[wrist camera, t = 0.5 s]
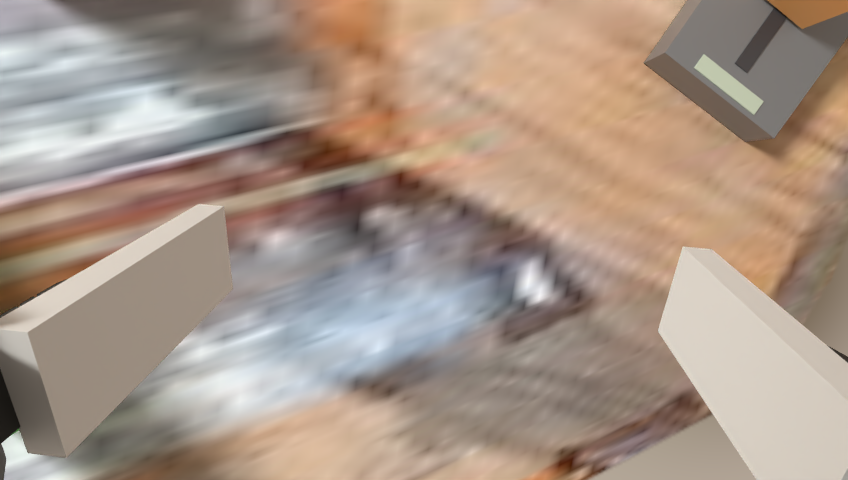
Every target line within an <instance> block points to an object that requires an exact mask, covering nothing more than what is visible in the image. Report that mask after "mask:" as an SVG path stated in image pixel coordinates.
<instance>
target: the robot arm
mask: <svg viewBox="0 0 848 480" xmlns="http://www.w3.org/2000/svg"><path fill="white" fill-rule="evenodd" d="M232 289H233V285H232V276H231V267H230V258H229V248H228V239H227V230H226V221H225V212H224V206H215V205H204V204H198V205H196V206H194V207H193V208H191V209H189V210H188V211H186V212H184V213H182V214H181V215H179V216H177V217H175V218H174V219H172V220H170V221H168V222H167V223H165V224H163V225H161V226H160V227H158V228H156V229H154V230H153V231H151V232H149V233H147V234H146V235H144V236H142V237H141V238H139V239H137V240H135V241H134V242H132V243H130V244H128V245H127V246H125V247H123V248H121V249H120V250H118V251H116V252H114V253H113V254H111V255H109V256H107V257H106V258H104V259H102V260H100V261H99V262H97V263H95V264H94V265H92V266H90V267H88V268H87V269H85V270H83V271H81V272H80V273H78V274H76V275H74V276H73V277H71V278H69V279H66V280H64V281H61V282H58V283H56V284H54V285H53V286H51V287H49V288H47V289H46V290H44V291H42V292H40V293H39V294H37V297H32V298H30V299H28V300H26V301H24V302H23V303H21V304H20V306H19V307H14V308H12V309H10V310H9V311H7V312H5V313H3V314H2V315H0V480H4V472H5V465H6V457H5V453H4V450H3V447H2V445H1V443H2V442H3V441H4V440H6V439H7V438H8V437H9V436H10V435H12V434H13V433H14V432H15V431H16V430H17V429H19V430H20V432H21V435H22V438H23V441H24V444H25V447H26V449H27V452H28V453H32V454H40V455H48V456H56V457H64V458H67V457H68V456H69V455H70V454H71V453H72V452H73V451H74V450H75V449H76V448H77V447H78V446H79V445H80V444H81V443H82V442H83V441H84V440H85V439H86V438H87V437H88V436H89V435H90V434H91V432H92V431H93V430H94V429H95V428H96V427H97V426H98V425H99V424H100V423H101V422H102V421H103V420H104V419H105V418H106V417H107V416H108V415H109V414H110V413H111V412H112V411H113V410H114V409H115V408H116V407H117V406H118V405H119V404H120V403H121V402H122V401H123V400H124V399H125V398H126V397H127V396H128V395H129V394H130V393H131V392H132V391H133V390H134V389H135V388H136V387H137V386H138V385H139V384H140V383H141V382H142V381H143V380H144V379H145V378H146V377H147V376H148V375H149V374H150V373H151V372H152V371H153V370H154V369H155V368H156V367H157V366H158V365H159V363H160V362H161V361H162V360H163V359H164V358H165V357H166V356H167V355H168V354H169V353H170V352H171V351H172V350H173V349H174V348H175V347H176V346H177V345H178V344H179V343H180V342H181V341H182V340H183V339H184V338H185V337H186V336H187V335H188V334H189V333H190V332H191V331H192V330H193V329H194V328H195V327H196V326H197V325H198V324H199V323H200V322H201V321H202V320H203V319H204V318H205V317H206V316H207V315H208V314H209V313H210V312H211V311H212V310H213V309H214V308H215V307H216V306H217V305H218V304H219V303H220V302H221V301H222V300H223V299H224V298H225V297H226V295H227V294H228V293H229V292H230V291H231V290H232ZM658 332H659V333H660V335H661V336H662V338H663V339H664V341H665V343H666V344H667V346H668V347H669V349H670V350H671V352H672V353H673V355H674V356H675V358H676V359H677V361H678V362H679V364H680V365H681V367H682V368H683V370H684V371H685V373H686V374H687V376H688V377H689V379H690V380H691V382H692V383H693V385H694V386H695V388H696V389H697V391H698V392H699V394H700V395H701V397H702V398H703V400H704V401H705V403H706V404H707V406H708V407H709V409H710V410H711V412H712V413H713V415H714V416H715V418H716V419H717V421H718V422H719V424H720V426H721V427H722V429H723V430H724V432H725V433H726V435H727V436H728V437H729V439H730V440H731V442H732V443H733V445H734V446H735V448H736V450H737V451H738V453H739V454H740V456H741V457H742V459H743V460H744V462H745V463H746V465H747V466H748V468H749V469H750V471H751V472H752V474H753V475H754V477H755V478H756V480H848V357H847V356H845V355H844V354H842V353H840V352H838V351H836V350H834V349H833V348H831V347H829V346H827V345H826V344H824V343H823V342H822V341H821V340H820V339H818V338H817V337H816V336H815V335H814V334H813V333H811V332H810V331H809V330H808V329H807V328H805V327H804V326H803V325H802V324H801V323H799V322H798V321H797V320H796V319H795V318H793V317H792V316H791V315H790V314H789V313H787V312H786V311H785V310H784V309H783V308H781V307H780V306H779V305H778V304H777V303H775V302H774V301H773V300H772V299H771V298H769V297H768V296H767V295H766V294H765V293H763V292H762V291H761V290H760V289H759V288H757V287H756V286H755V285H754V284H753V283H751V282H750V281H749V280H748V279H747V278H745V277H744V276H743V275H742V274H741V273H739V272H738V271H737V270H736V269H735V268H733V267H732V266H731V265H730V264H729V263H727V262H726V261H725V260H724V259H723V258H721V257H720V256H719V255H718V254H717V253H715V252H714V251H713V250H712V249H704V248H693V247H683V248H682V251H681V255H680V258H679V261H678V265H677V268H676V271H675V275H674V278H673V282H672V285H671V288H670V292H669V295H668V299H667V302H666V305H665V309H664V312H663V315H662V319H661V322H660V326H659V329H658Z"/></svg>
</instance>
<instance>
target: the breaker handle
mask: <svg viewBox="0 0 848 480" xmlns="http://www.w3.org/2000/svg"><path fill="white" fill-rule="evenodd" d="M767 1H769V2H770V3H771V4H772V5H773V6H775V7H776V8H777V9H778V10H779V11H781V12H782V13H783V14H784V15H785V16H787V17H788V18H789V19H790V20H792V21H793V22H794V23H795V24H796V25H798V26H799V27H800V28H801V29H804V28H806V27H809V26H812V25H814V24H817V23H819V22H822V21H825V20H827V19H830V18H833V17H835V16H838V15H840V14H843V13H846V12H848V0H767Z"/></svg>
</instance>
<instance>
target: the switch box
mask: <svg viewBox="0 0 848 480" xmlns="http://www.w3.org/2000/svg"><path fill="white" fill-rule="evenodd" d="M847 37H848V12H846V13H843V14H840V15H838V16H835V17H833V18H830V19H827V20H825V21H822V22H819V23H817V24H814V25H812V26H809V27H806V28H804V29H801V28H800V27H799V26H798V25H796V24H795V23H794V22H793V21H792V20H790V19H789V18H788V17H787V16H785V15H784V14H783V13H782V12H781V11H779V10H778V9H777V8H776V7H775V6H773V5H772V4H771V3H770V2H769V1H767V0H687V1H686V3H685V4H684V6H683V7H682V9H681V10H680V12H679V13H678V14H677V16H676V17H675V19H674V20H673V22H672V23H671V24H670V26H669V27H668V29H667V30H666V32H665V33H664V35H663V36H662V37H661V39H660V40H659V42H658V43H657V45H656V46H655V47H654V49H653V50H652V52H651V53H650V55H649V56H648V58H647V59H646V60H645V62H644V64H646V65H647V66H648V67H649V68H651V69H652V70H653V71H655V72H656V73H657V74H658V75H660V76H661V77H662V78H664V79H665V80H666V81H667V82H669V83H670V84H671V85H673V86H674V87H675V88H677V89H678V90H679V91H680V92H682V93H683V94H684V95H686V96H687V97H688V98H689V99H691V100H692V101H693V102H695V103H696V104H697V105H698V106H700V107H701V108H702V109H704V110H705V111H706V112H708V113H709V114H710V115H711V116H713V117H714V118H715V119H717V120H718V121H719V122H720V123H722V124H723V125H724V126H726V127H727V128H728V129H729V130H731V131H732V132H733V133H735V134H736V135H737V136H738V137H740V138H741V139H742V140H744V141H745V142H748V141H756V140H764V139H773V138H775V137H776V135H777V134H778V132H779V131H780V130H781V128H782V127H783V126H784V124H785V123H786V121H787V120H788V119H789V117H790V116H791V114H792V113H793V112H794V110H795V109H796V108H797V106H798V105H799V103H800V102H801V101H802V99H803V98H804V97H805V95H806V94H807V92H808V91H809V90H810V88H811V87H812V86H813V84H814V83H815V81H816V80H817V79H818V77H819V76H820V74H821V73H822V72H823V70H824V69H825V68H826V66H827V65H828V63H829V62H830V61H831V59H832V58H833V57H834V55H835V54H836V52H837V51H838V50H839V48H840V47H841V46H842V44H843V43H844V41H845V40H846V39H847Z"/></svg>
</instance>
